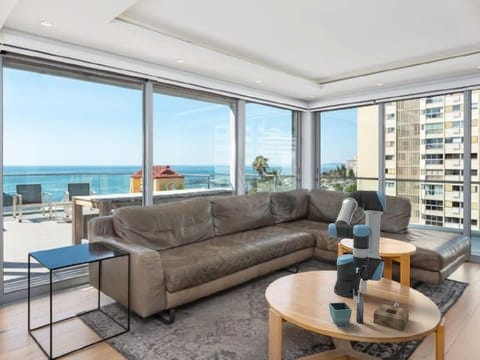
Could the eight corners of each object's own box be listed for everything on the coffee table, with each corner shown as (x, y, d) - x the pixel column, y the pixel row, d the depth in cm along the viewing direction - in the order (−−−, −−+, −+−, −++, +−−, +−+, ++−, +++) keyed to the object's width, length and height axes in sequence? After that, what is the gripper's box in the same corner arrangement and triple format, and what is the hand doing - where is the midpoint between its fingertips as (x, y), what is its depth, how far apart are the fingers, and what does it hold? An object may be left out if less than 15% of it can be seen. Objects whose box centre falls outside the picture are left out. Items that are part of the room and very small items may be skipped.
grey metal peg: (355, 322, 168) (355, 297, 168) (357, 319, 171) (357, 295, 170) (362, 324, 167) (362, 299, 166) (364, 321, 169) (364, 296, 169)
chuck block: (373, 322, 168) (373, 313, 168) (384, 304, 189) (384, 295, 189) (404, 330, 160) (404, 320, 160) (411, 310, 181) (411, 301, 181)
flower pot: (328, 319, 172) (328, 302, 171) (344, 318, 172) (345, 301, 172) (334, 328, 163) (334, 310, 162) (351, 327, 164) (352, 309, 163)
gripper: (362, 263, 154) (361, 307, 155) (374, 251, 175) (373, 291, 176) (345, 260, 159) (345, 304, 160) (359, 249, 179) (359, 288, 180)
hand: (360, 297), depth 168 cm, fingers open, 13 cm apart
